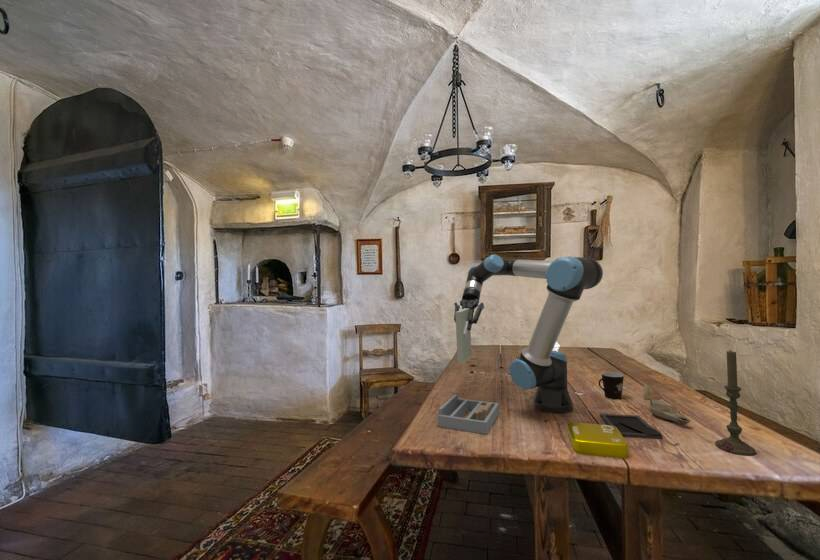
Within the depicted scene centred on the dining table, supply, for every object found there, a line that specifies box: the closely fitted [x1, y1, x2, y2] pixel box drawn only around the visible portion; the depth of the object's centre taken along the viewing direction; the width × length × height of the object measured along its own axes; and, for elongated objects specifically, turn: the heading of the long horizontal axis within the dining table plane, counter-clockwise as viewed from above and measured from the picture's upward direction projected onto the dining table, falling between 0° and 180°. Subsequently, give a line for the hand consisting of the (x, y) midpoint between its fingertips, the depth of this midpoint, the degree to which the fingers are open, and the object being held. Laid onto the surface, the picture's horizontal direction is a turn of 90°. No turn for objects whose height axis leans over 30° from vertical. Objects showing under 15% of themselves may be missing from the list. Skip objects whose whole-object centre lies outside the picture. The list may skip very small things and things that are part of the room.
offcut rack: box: [437, 393, 500, 435], centre depth 134 cm, size 18×21×6 cm
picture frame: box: [599, 413, 663, 440], centre depth 124 cm, size 13×2×18 cm
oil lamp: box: [642, 382, 691, 426], centre depth 131 cm, size 9×21×10 cm, turn 179°
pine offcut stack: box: [474, 403, 491, 421], centre depth 133 cm, size 4×9×6 cm, turn 154°
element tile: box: [567, 421, 629, 459], centre depth 111 cm, size 15×15×5 cm
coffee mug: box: [598, 371, 625, 400], centre depth 156 cm, size 12×9×10 cm
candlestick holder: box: [714, 349, 757, 456], centre depth 107 cm, size 9×9×30 cm
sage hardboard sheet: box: [454, 308, 472, 364], centre depth 145 cm, size 2×13×20 cm, turn 154°
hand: (461, 335), depth 142 cm, fingers closed on sage hardboard sheet, 2 cm apart
